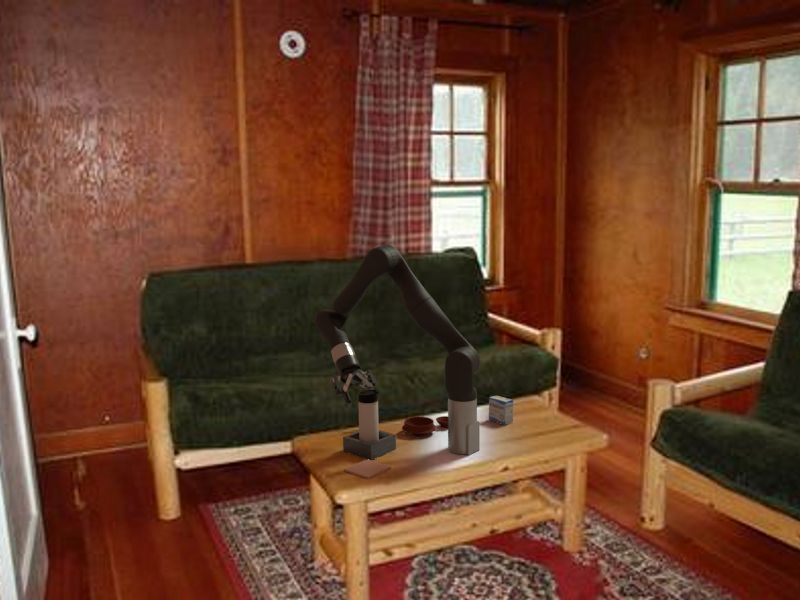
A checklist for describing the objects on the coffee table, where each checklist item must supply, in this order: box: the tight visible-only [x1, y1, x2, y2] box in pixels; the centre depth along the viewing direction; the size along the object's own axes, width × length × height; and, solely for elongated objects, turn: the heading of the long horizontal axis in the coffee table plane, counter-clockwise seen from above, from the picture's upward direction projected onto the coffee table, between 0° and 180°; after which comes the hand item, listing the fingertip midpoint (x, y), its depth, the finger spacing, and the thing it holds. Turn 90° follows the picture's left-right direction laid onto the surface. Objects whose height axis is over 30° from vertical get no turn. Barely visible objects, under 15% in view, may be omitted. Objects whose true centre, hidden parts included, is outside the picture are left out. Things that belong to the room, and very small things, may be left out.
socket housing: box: [342, 429, 397, 461], centre depth 231 cm, size 12×12×5 cm
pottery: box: [401, 415, 448, 437], centre depth 249 cm, size 12×20×4 cm, turn 122°
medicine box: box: [488, 395, 514, 426], centre depth 257 cm, size 8×4×9 cm, turn 43°
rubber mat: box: [343, 459, 392, 480], centre depth 216 cm, size 10×10×1 cm
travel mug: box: [357, 389, 380, 443], centre depth 230 cm, size 6×7×20 cm
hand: (361, 401), depth 234 cm, fingers open, 8 cm apart
